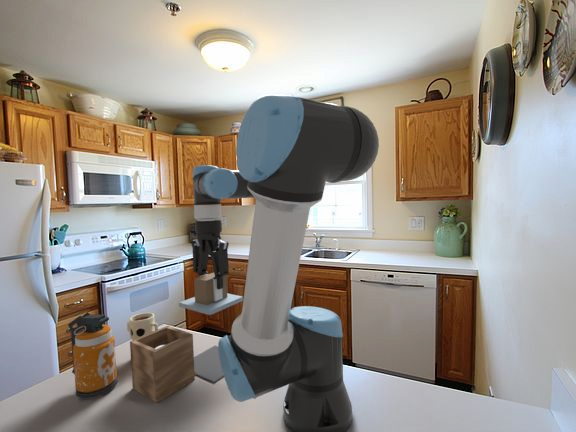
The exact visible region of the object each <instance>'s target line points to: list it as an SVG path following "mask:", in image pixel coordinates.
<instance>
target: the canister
mask: <svg viewBox="0 0 576 432" xmlns="http://www.w3.org/2000/svg"><path fill="white" fill-rule="evenodd" d="M109 320H110V317H109V316H106V314H103V313H102V314H92V313H90V312H86V313H84V314H83V315H82V316H81V315H79V316H78V317H77V316H76V318H75V319H73V320H72V321H71V322H69V323H68V324H67V326H68V329H69V332H70V338H71V339H70V341H71V352H72V353H71V354H72V366H73V367H72V368H73V369H72V371H71V373H72V374H73V375H74V383H75V385H74V386H75V396H76V397H77V398H78V399H82V400H83V399H84V400H86V399H87V400H89V399H92V398H97V397H99V396H102V395H105V394H106V393H108V392H110V391H111V390H112V389H114V388H115V387H116V385H117V384H118V376H117V375H118V374H117V356H116V340H115V336H114V335H113V331H112V330H113V329H112V328H111V326H110V325H108V324H105V323H106V322H108V321H109ZM75 325H76V327H74V326H75Z"/></svg>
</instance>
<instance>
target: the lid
mask: <svg viewBox="0 0 576 432" xmlns="http://www.w3.org/2000/svg"><path fill="white" fill-rule="evenodd" d="M206 274H207V275H204V276H201V277H199V276H198V277H194V278H193V284H194V288H193V289H194V296H193V297H190V298H188V299H185V300H182V301H179V302H178V307H180V308H183V309H187V310H190V311H193V312H197V313H201V314H204V315H208V316H211V315H214V314H216V313H218V312H221V311H223V310H225V309H227V308H229V307H232V306H234V305H237V304H238V303H240V302H243V300H244V296H243V295H242V296H241V295H237V294H232V293H228V275H227V276H224V277H223V288H222V294H223V298H222V299H220V300H217V301H214V290H213V277H215V274H214V272H211V273H206Z"/></svg>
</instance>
